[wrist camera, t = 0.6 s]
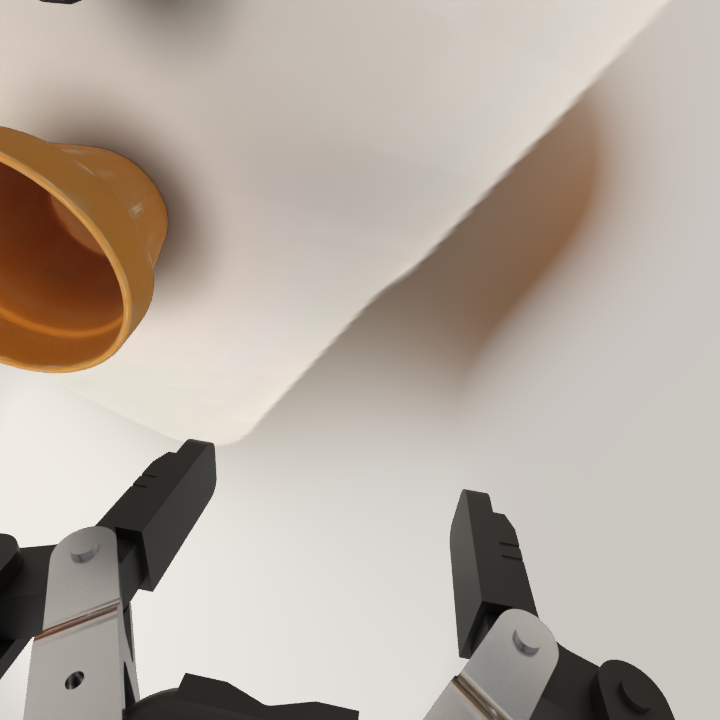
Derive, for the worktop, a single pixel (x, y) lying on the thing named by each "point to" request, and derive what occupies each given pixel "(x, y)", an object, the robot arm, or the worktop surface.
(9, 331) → the flower pot
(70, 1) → the beverage cup
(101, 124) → the worktop surface
